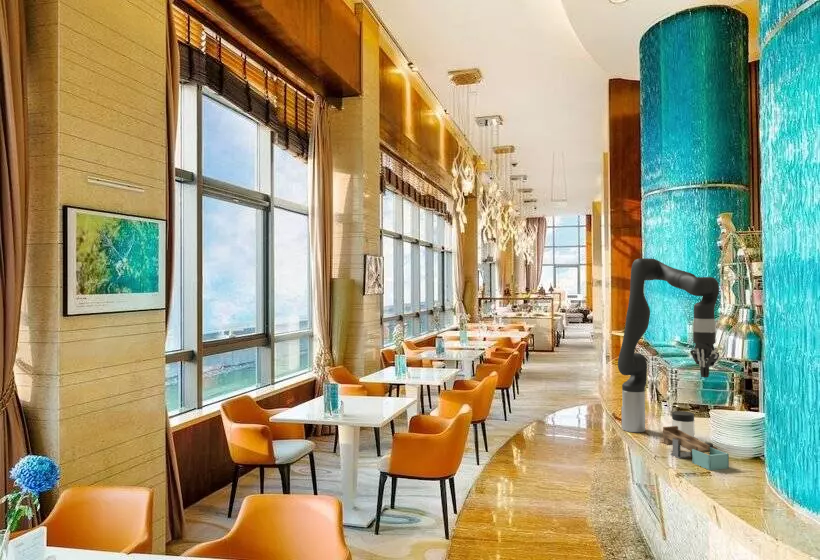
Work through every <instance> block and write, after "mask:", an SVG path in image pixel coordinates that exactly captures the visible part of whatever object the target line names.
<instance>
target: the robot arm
mask: <svg viewBox="0 0 820 560" xmlns="http://www.w3.org/2000/svg"><path fill="white" fill-rule="evenodd" d="M654 280H655V281H656V280H657V281H665V282H667V284H669V285H670V286H671V287H674V288H677V289H679V290H683V291H685V292H686V293H688V295H689V294H690V295H692V296H696V297H701V300H700V301H699V302H696V303H695V304H694V305H693V323H692V333H693V334H692V335H693V336H692V337H693V338H692V340H693V343H694V344H695V345H694V349H692V350H690V355H691V356H692V359H693V360H694V362H695V365H698V366H699V368H700V377H701V378H709V376H710V368H711V367H713V366H715V364H716V362H717V360H718V359H719V357H720V354H719V353H716V352H715V346H714V345H715V344H716V340H717V339H716V338H717V337H716V335H717V334H716V333H717V332H716V320H715V315H716V314H715V307H716V304H717V300H718V296H719V293H720V285H719V282H718V280H717V279H716V278H715V277H713V276H696V275H695V274H694V273H692V272H688V271H685V270H681V269H677V268H674V267H671V266H670V265H667V264H665V263H663V262H662V261H659V260H658V259H655V258H648V257H647V258H646V257H645V258H637V259H634V261H633V262H632V264H631V270H630V283H629V284H630V286H629V287H630V288H629V298H628V306H627V311H626V316H625V327H624V330H623V331H624V332H623V338H622V342H621V347H620V350H619V354H618V360H617V369H618V372H619V373H620V374H621V375H622V376H630V377H629V378H628V379H627V380H626V381H624V382H623V383H622V384H621V386H622V387H621V396H622V399H621V400H622V403H621V404H622V405H621V407H620V408H621V429H622V430H623V431H626V432H628V433H629V432H630V433H643V432H645V431H646V393H645V391H646V390H645V389H646V385H647V379H648V378H647V377H648V374H647V373H648V364H647V359H646V356H644V354H642V353H639V352H638V353H637V352H636V353H635V351H636V348H637V345H638V343H639V341H640V340H641V338H642V337H643V336H644V334H646V332H647V330H648V328H649V323H650V318H651V309H650V306H649V303H648V301H647V299H646V295H645V291H644V290H645V288H644V287H645V282H646V281H654Z"/></svg>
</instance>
